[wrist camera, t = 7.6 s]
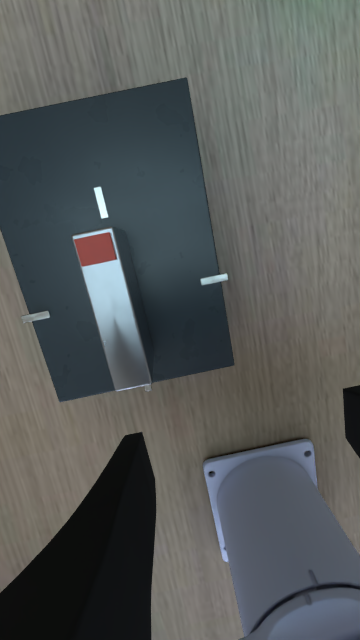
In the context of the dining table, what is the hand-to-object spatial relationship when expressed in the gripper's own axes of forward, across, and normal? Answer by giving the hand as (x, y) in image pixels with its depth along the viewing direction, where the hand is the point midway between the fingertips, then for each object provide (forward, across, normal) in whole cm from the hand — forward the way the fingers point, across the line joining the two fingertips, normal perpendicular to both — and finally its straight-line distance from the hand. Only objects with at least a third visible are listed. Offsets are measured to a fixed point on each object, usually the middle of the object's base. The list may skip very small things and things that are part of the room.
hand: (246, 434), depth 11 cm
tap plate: (+10, +4, -6) cm, 12 cm away
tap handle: (+6, +4, -5) cm, 9 cm away
